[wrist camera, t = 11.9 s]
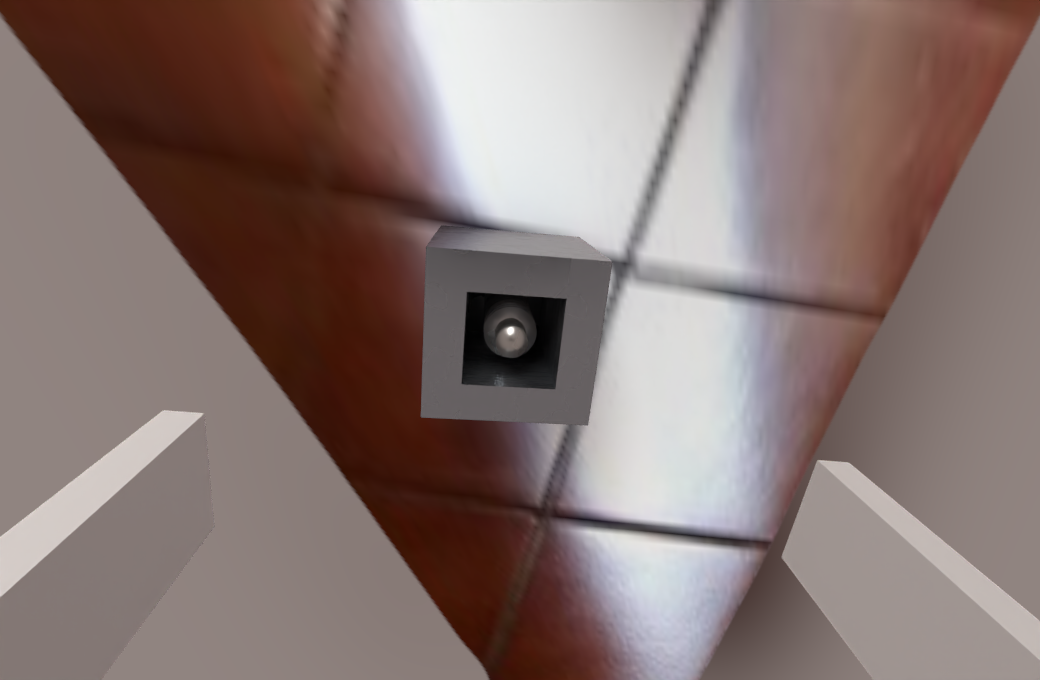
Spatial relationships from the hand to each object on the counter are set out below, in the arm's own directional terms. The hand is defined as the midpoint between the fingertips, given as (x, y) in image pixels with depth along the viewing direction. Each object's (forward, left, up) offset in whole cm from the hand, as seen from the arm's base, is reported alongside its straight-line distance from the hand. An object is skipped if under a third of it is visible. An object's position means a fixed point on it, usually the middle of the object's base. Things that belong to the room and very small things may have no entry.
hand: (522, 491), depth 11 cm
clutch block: (+1, 0, -20) cm, 20 cm away
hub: (+1, 0, -21) cm, 21 cm away
